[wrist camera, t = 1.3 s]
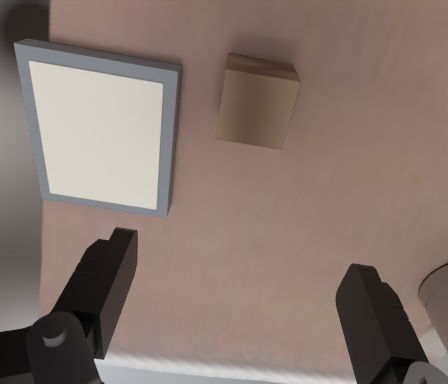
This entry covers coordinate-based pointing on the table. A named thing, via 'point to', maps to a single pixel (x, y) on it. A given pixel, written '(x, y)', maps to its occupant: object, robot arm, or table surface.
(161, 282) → the table surface
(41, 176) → the board
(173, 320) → the table surface
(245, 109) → the cube
